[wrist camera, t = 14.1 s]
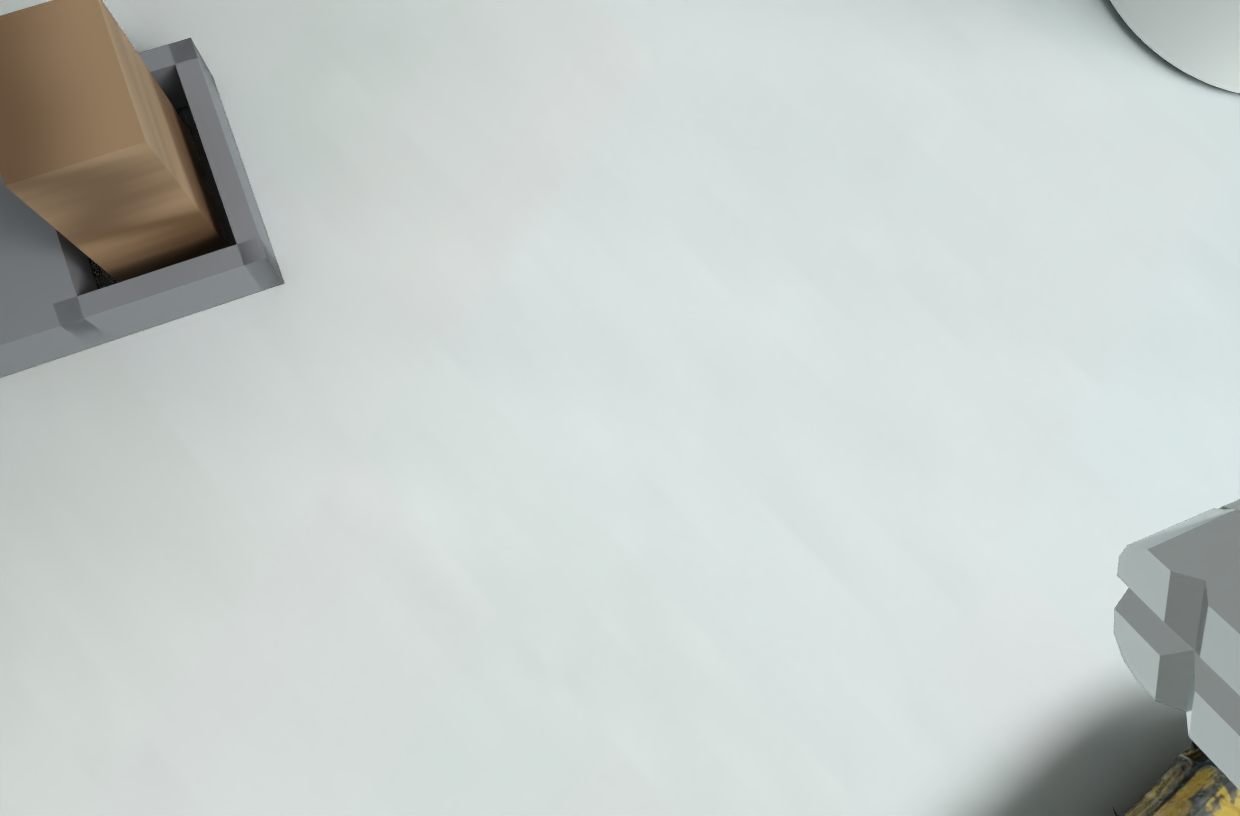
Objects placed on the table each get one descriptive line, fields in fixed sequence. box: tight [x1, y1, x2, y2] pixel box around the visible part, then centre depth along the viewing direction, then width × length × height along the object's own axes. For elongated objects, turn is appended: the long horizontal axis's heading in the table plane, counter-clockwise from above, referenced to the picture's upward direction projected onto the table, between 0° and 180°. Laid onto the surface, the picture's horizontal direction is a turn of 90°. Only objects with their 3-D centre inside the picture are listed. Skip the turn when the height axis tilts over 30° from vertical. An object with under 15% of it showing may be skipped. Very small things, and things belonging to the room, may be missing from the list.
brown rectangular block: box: [0, 0, 230, 282], centre depth 38 cm, size 4×6×10 cm
